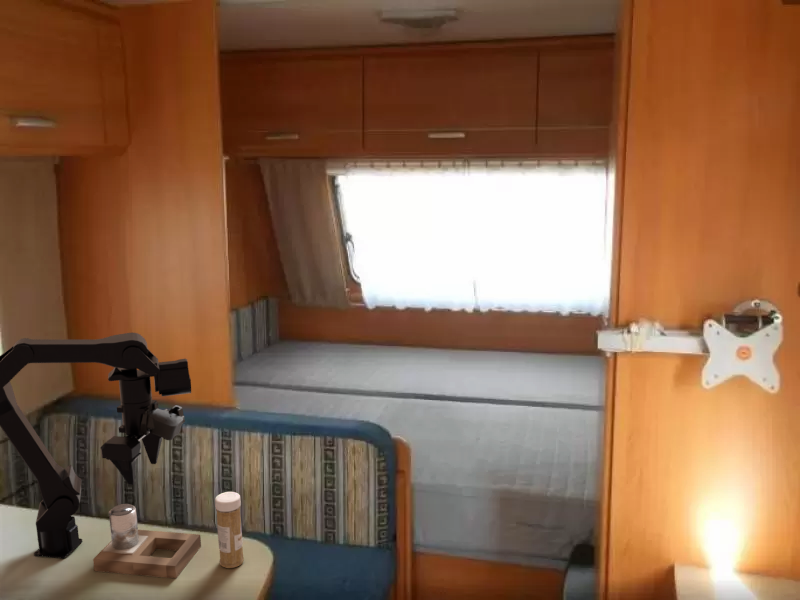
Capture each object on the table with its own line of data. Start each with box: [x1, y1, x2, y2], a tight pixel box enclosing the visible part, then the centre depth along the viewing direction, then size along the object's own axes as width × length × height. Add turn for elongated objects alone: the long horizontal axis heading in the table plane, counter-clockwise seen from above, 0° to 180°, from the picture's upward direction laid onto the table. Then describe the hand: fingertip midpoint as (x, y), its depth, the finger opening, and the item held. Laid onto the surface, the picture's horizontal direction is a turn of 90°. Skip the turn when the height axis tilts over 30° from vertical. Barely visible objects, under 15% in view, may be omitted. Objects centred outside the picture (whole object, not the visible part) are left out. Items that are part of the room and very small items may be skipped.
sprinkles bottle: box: [214, 491, 245, 569], centre depth 142 cm, size 5×5×13 cm
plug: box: [108, 503, 139, 550], centre depth 144 cm, size 5×5×7 cm
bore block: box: [92, 529, 202, 579], centre depth 144 cm, size 16×11×3 cm
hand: (142, 473), depth 151 cm, fingers open, 9 cm apart
